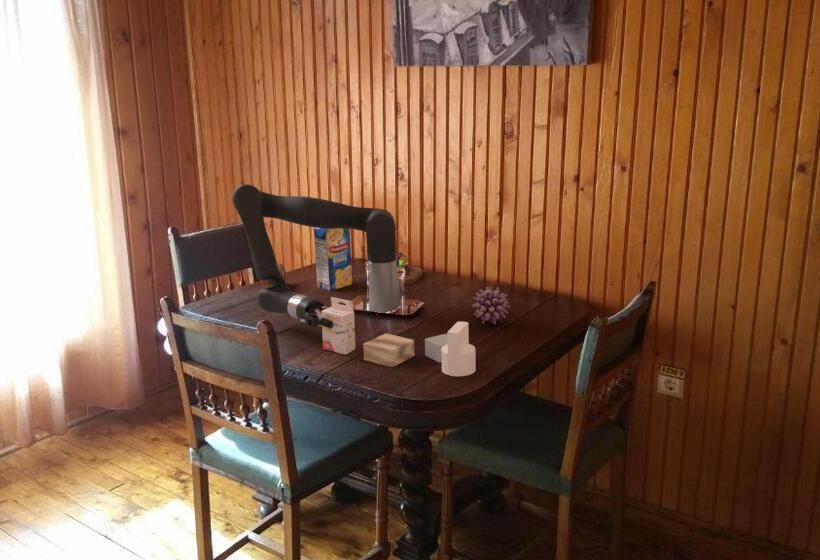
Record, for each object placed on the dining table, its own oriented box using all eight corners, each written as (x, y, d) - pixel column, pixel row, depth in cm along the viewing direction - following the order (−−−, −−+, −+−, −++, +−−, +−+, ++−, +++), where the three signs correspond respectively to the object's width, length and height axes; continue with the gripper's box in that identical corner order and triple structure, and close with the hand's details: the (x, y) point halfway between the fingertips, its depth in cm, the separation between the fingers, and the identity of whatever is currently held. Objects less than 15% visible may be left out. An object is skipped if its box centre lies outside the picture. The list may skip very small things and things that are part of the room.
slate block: (445, 350, 232) (445, 333, 230) (460, 357, 226) (460, 340, 225) (425, 355, 228) (424, 338, 227) (439, 363, 222) (439, 346, 221)
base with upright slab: (469, 378, 212) (469, 334, 208) (437, 374, 215) (436, 331, 212) (479, 365, 220) (479, 323, 216) (448, 361, 223) (447, 320, 220)
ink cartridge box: (322, 349, 234) (319, 300, 230) (332, 344, 238) (330, 296, 234) (345, 355, 229) (343, 305, 225) (356, 349, 233) (354, 300, 229)
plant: (380, 269, 317) (379, 241, 314) (428, 272, 310) (427, 244, 307) (359, 283, 299) (358, 253, 296) (409, 287, 292) (408, 257, 289)
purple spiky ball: (473, 330, 246) (472, 293, 242) (470, 317, 257) (470, 281, 254) (511, 330, 246) (511, 292, 242) (507, 317, 257) (507, 280, 254)
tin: (272, 295, 287) (270, 272, 284) (263, 295, 287) (261, 272, 285) (286, 283, 301) (285, 261, 298) (278, 283, 301) (277, 261, 299)
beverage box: (317, 287, 294) (313, 228, 288) (339, 280, 302) (336, 222, 296) (329, 291, 290) (326, 230, 284) (352, 284, 297) (349, 225, 291)
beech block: (386, 349, 234) (385, 333, 232) (414, 356, 228) (413, 339, 227) (364, 360, 226) (363, 343, 225) (392, 368, 220) (391, 350, 219)
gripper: (284, 302, 236) (319, 315, 224) (324, 291, 246) (359, 303, 234) (286, 327, 239) (321, 341, 227) (325, 315, 248) (361, 328, 236)
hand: (340, 321), depth 230 cm, fingers closed on ink cartridge box, 6 cm apart
